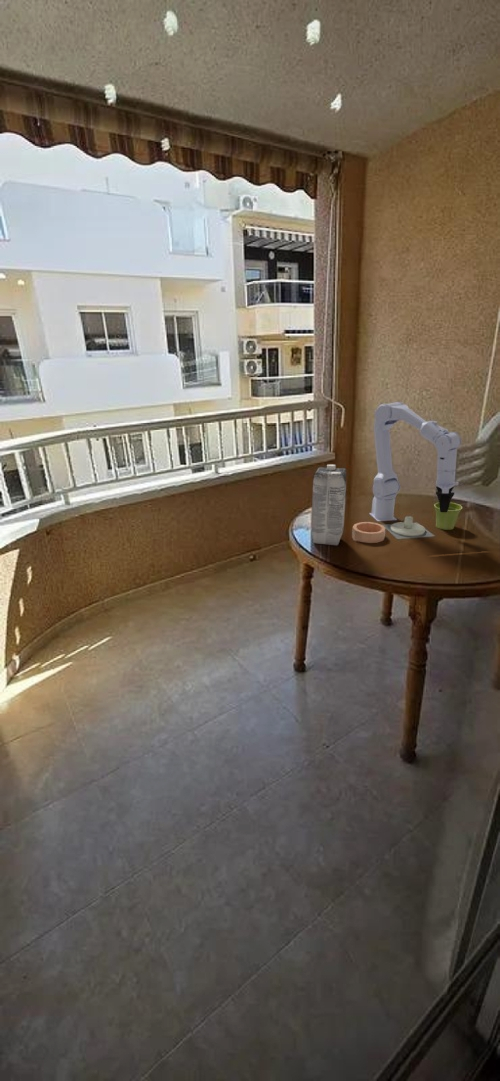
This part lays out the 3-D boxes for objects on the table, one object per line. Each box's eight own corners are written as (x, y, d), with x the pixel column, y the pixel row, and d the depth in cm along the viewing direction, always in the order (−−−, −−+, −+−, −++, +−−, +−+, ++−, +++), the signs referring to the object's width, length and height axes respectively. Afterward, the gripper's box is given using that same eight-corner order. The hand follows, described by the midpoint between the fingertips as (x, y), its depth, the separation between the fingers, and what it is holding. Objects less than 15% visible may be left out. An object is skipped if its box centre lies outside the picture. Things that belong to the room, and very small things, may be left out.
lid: (385, 525, 165) (386, 513, 163) (415, 523, 166) (417, 511, 164) (398, 537, 154) (400, 524, 152) (431, 535, 155) (433, 522, 153)
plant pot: (461, 533, 157) (465, 510, 154) (433, 532, 159) (436, 509, 156) (455, 524, 166) (459, 502, 162) (429, 523, 168) (432, 501, 164)
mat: (381, 526, 166) (381, 524, 166) (416, 523, 167) (416, 522, 167) (396, 540, 153) (397, 538, 153) (434, 537, 154) (435, 536, 154)
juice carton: (340, 547, 149) (344, 470, 139) (310, 544, 152) (312, 468, 142) (343, 537, 157) (348, 463, 146) (314, 534, 160) (317, 462, 149)
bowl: (348, 533, 161) (348, 523, 159) (377, 531, 162) (378, 521, 160) (358, 545, 151) (359, 534, 149) (389, 542, 152) (390, 532, 150)
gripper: (460, 474, 138) (457, 515, 143) (458, 465, 151) (455, 503, 155) (436, 474, 141) (433, 514, 146) (436, 466, 154) (434, 503, 158)
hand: (443, 509), depth 151 cm, fingers open, 7 cm apart
